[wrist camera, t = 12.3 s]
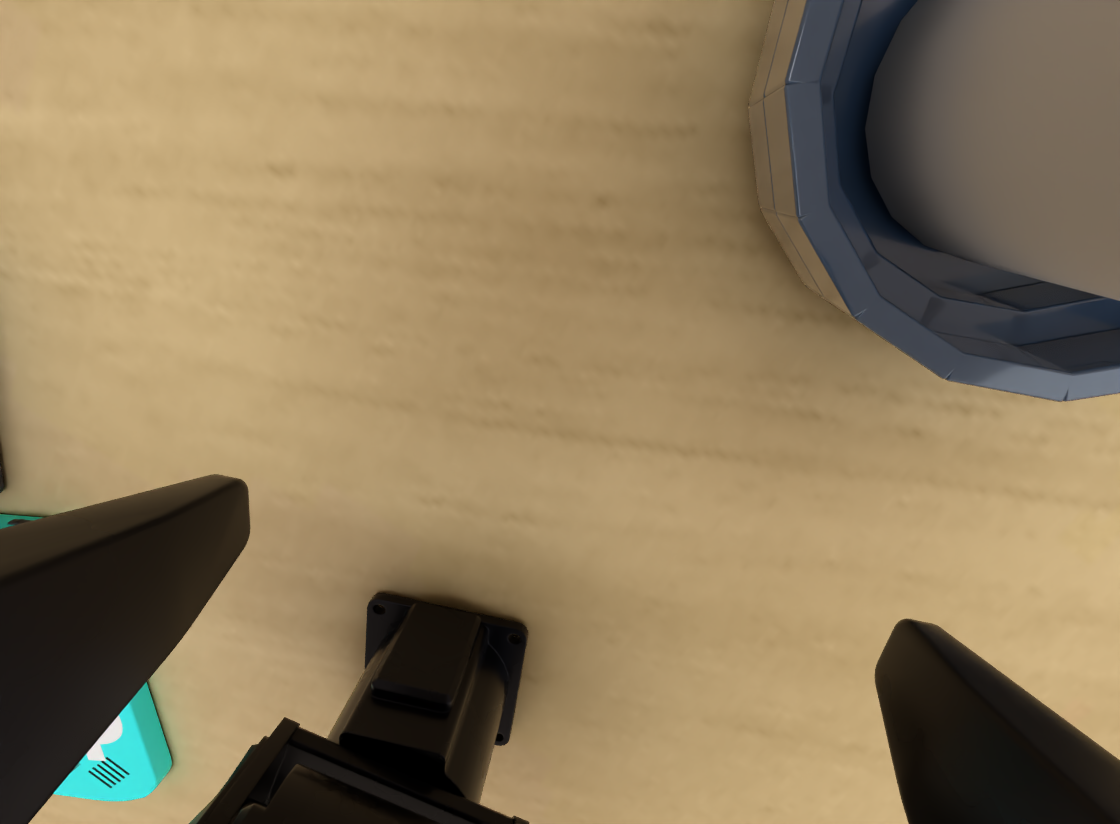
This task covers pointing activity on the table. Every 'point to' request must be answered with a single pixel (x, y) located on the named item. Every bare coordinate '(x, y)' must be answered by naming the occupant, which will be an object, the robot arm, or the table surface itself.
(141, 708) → the handheld game console
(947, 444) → the table surface
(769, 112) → the bowl
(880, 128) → the can
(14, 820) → the robot arm
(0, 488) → the red and grey device
